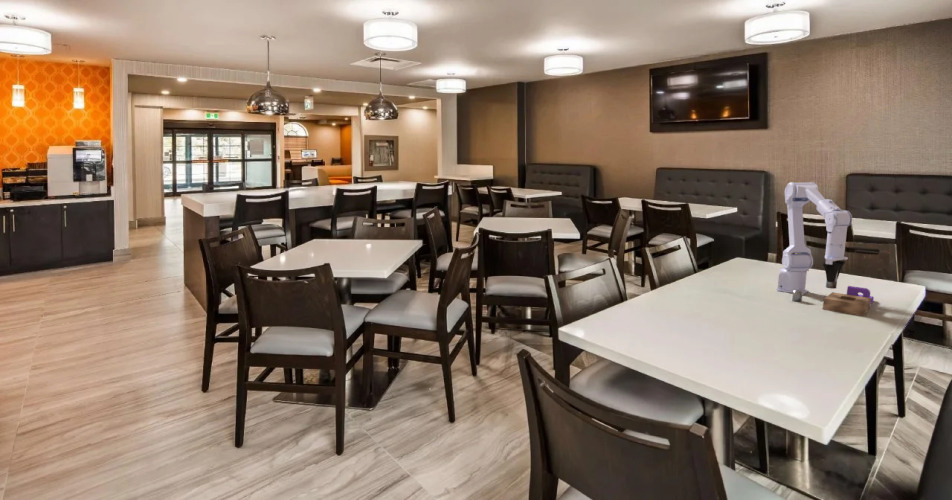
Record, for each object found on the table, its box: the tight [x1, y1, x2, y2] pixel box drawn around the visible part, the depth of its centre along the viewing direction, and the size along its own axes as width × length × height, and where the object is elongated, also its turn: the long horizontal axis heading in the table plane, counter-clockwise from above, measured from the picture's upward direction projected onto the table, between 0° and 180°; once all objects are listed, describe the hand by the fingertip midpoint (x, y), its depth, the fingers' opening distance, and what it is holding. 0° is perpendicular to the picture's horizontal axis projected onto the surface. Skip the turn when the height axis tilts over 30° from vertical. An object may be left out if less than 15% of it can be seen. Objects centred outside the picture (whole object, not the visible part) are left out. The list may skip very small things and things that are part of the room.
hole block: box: [822, 292, 872, 317], centre depth 198 cm, size 12×12×4 cm
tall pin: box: [825, 272, 838, 290], centre depth 201 cm, size 3×3×8 cm
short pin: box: [791, 290, 804, 303], centre depth 210 cm, size 3×3×4 cm
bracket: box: [846, 285, 875, 305], centre depth 207 cm, size 12×7×7 cm, turn 136°
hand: (832, 281), depth 201 cm, fingers closed on tall pin, 3 cm apart
